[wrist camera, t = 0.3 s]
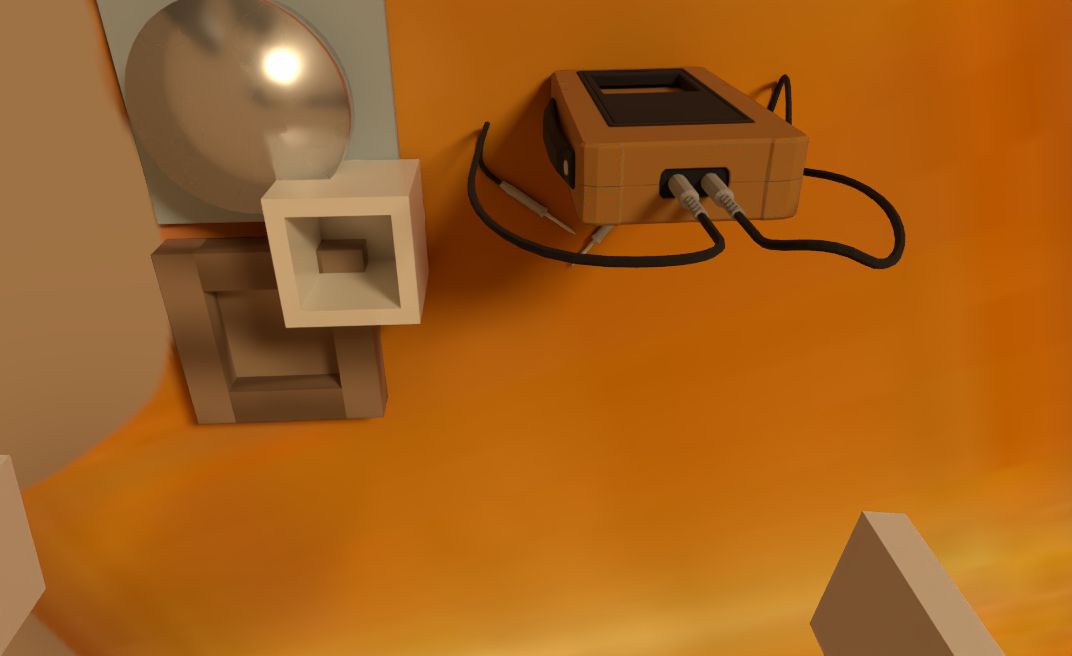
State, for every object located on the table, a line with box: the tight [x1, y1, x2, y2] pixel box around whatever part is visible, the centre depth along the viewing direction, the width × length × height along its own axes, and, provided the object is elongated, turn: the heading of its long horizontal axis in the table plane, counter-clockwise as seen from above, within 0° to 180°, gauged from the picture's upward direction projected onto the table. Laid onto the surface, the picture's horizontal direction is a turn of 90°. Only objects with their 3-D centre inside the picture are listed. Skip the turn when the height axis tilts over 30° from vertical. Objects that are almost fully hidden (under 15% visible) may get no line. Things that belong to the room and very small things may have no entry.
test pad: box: [125, 0, 355, 214], centre depth 31 cm, size 9×9×2 cm
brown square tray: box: [151, 237, 388, 424], centre depth 38 cm, size 10×10×2 cm
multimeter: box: [467, 67, 905, 269], centre depth 27 cm, size 15×10×20 cm
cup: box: [261, 159, 429, 328], centre depth 34 cm, size 6×6×6 cm
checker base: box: [97, 0, 400, 224], centre depth 33 cm, size 12×12×1 cm
